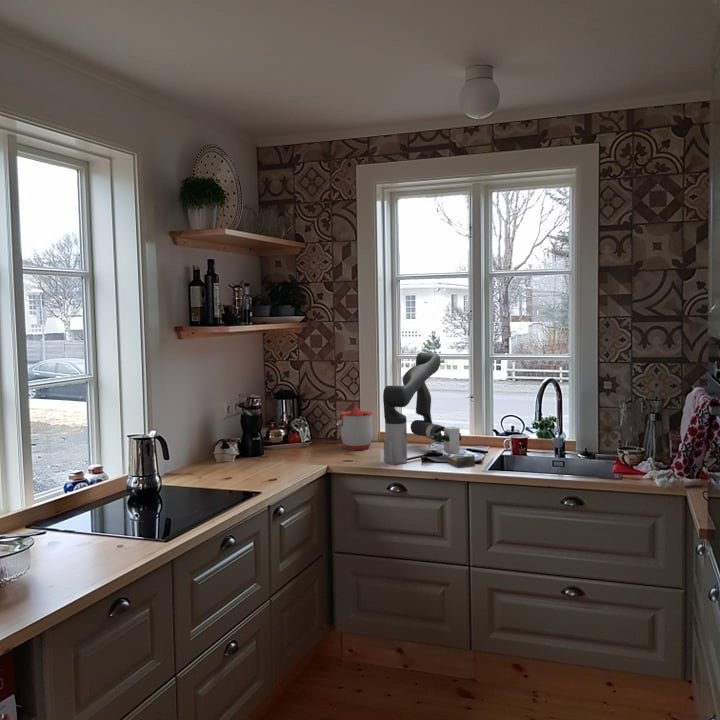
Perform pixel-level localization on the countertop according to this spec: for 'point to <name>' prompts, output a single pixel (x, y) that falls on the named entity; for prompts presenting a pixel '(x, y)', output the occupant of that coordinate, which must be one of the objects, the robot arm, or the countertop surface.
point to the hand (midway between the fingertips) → (454, 438)
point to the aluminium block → (452, 440)
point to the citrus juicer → (356, 429)
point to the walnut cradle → (462, 461)
